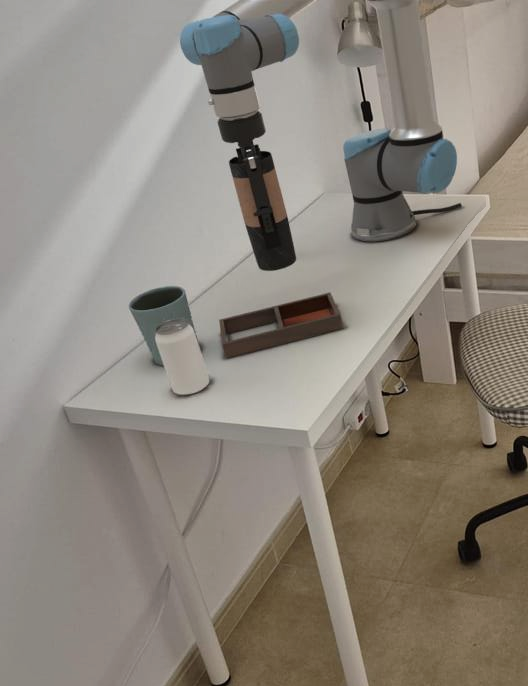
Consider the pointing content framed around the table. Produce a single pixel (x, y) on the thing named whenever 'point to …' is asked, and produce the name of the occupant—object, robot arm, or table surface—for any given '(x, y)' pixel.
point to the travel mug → (264, 257)
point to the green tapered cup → (159, 313)
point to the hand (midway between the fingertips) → (271, 239)
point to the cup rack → (281, 324)
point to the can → (181, 356)
